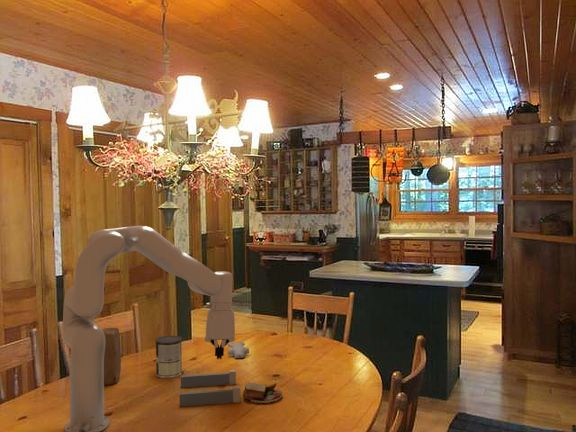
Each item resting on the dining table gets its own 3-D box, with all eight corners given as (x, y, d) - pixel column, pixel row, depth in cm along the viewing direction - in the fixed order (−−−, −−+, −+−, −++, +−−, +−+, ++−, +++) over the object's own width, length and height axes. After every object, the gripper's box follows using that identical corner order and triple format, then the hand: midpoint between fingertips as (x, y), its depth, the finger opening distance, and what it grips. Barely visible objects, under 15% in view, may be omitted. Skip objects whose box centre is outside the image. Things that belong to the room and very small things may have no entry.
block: (116, 385, 186) (115, 332, 185) (95, 386, 185) (94, 332, 185) (123, 375, 196) (122, 325, 196) (103, 376, 196) (103, 325, 195)
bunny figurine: (229, 351, 216) (225, 338, 231) (228, 362, 217) (225, 349, 231) (250, 350, 218) (246, 337, 233) (250, 361, 219) (246, 347, 233)
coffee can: (150, 374, 198) (150, 339, 198) (171, 368, 206) (171, 334, 206) (166, 380, 192) (166, 343, 191) (187, 373, 200) (187, 338, 199)
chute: (240, 402, 170) (240, 388, 169) (179, 406, 166) (179, 392, 166) (235, 382, 188) (235, 369, 188) (180, 386, 185) (180, 373, 185)
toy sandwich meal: (278, 406, 166) (278, 392, 166) (239, 404, 168) (239, 390, 168) (284, 392, 179) (284, 379, 179) (248, 390, 181) (248, 377, 181)
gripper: (199, 308, 172) (197, 361, 172) (242, 308, 175) (241, 360, 175) (199, 304, 180) (197, 355, 179) (240, 304, 182) (239, 354, 182)
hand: (219, 357), depth 177 cm, fingers closed
